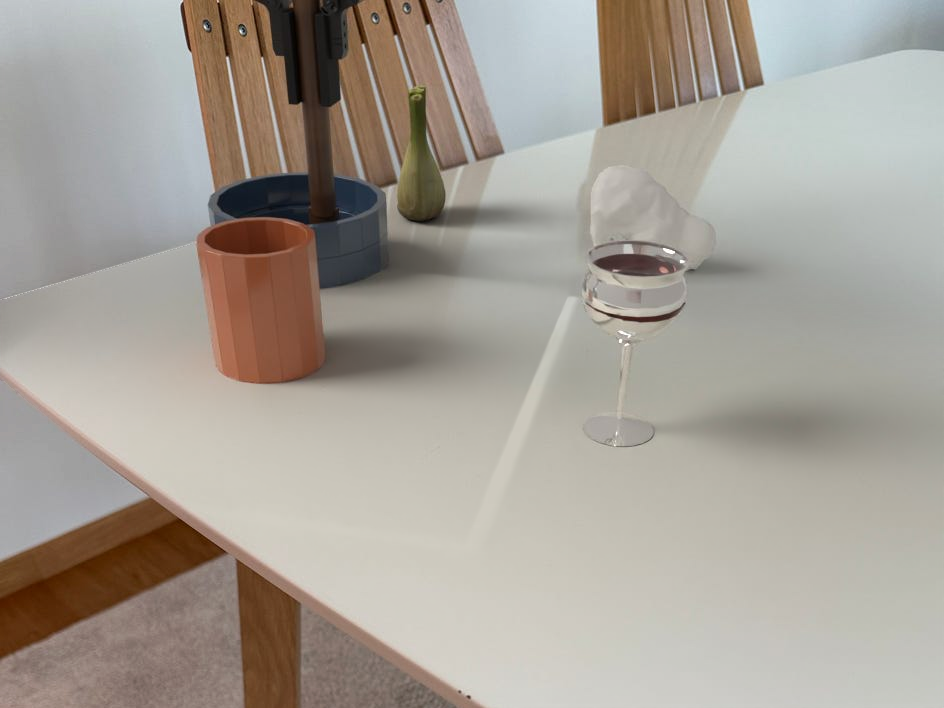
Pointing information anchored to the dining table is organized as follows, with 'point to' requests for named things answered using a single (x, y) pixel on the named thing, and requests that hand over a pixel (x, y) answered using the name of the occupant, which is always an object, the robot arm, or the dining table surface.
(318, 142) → the stirring stick
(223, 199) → the bowl
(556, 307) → the dining table surface
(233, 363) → the pot
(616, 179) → the lumpy white blob
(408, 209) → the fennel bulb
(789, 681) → the dining table surface
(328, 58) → the robot arm
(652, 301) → the wineglass
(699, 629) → the dining table surface
